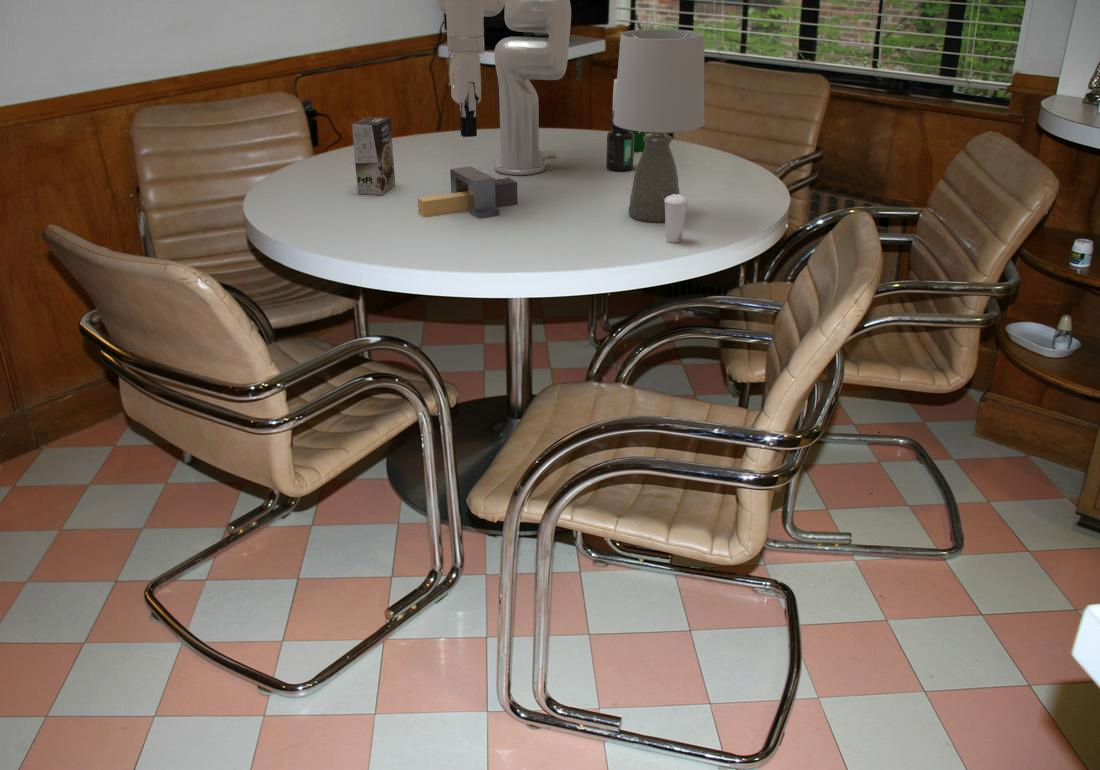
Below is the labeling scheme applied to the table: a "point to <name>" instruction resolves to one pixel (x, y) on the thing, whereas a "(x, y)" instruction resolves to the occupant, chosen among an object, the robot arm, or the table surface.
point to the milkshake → (674, 217)
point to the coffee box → (373, 155)
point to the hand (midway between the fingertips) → (468, 135)
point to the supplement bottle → (619, 149)
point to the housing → (475, 190)
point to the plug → (466, 199)
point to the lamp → (658, 107)
